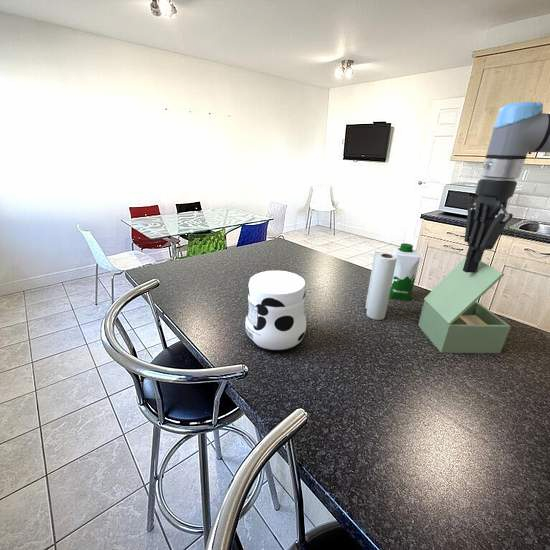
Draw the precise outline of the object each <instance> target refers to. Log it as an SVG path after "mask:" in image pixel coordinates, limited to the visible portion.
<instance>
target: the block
mask: <svg viewBox="0 0 550 550" xmlns="http://www.w3.org/2000/svg"><path fill="white" fill-rule="evenodd" d="M455 324H464V325H487V324H486V323H485V322H483V321H482V320H481V319H480V318H478V317H477V316H476V315H461V316H460V317H459V318H458V319H457V320H456V321H455Z"/></svg>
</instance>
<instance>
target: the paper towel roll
mask: <svg viewBox="0 0 550 550" xmlns="http://www.w3.org/2000/svg"><path fill="white" fill-rule="evenodd" d="M396 261H397V257H396V256H395V255H393V253H390V252H389V253H388V252H382V251H377V250H374V254H373V259H372V265H371V271H370V277H369V284H368V288H367V295H366V301H365V307H364V308H365V310H366V314H365V315H366V316H367V318H370V319H372V320H376V321H381V320H384V319H385V318H386V315H387V314H386V313H387V310H388V304H389V300H390V298H389V295H390V290H391V285H392V280H393V275H394V270H395V265H396Z"/></svg>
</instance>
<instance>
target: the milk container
mask: <svg viewBox="0 0 550 550" xmlns="http://www.w3.org/2000/svg"><path fill="white" fill-rule="evenodd" d="M247 286H248V287H247V293H248V294H247V302H248V303H247V304H248V307H247V313H246V316H245V323H244V324H245V325H244V326H245V333H246V335H247V337H248V339H249V341H250V342H251V343H252V344H253V345H254V346H256V347H259V348H261V349H264V350H267V351H275V352H276V351H285V350H286V351H287V350H289V349H292V348H294V347H296V346H297V345H299V344H300V343H301V342H302V341H303V339H304V337H305V334H306V330H307V317H306V313H305V303H306V291H307V290H306V280H305V279H304V278H303V277H302V276H300V275H299V274H297V273H295V272H290V271H286V270H265V271H261V272H258V273H256V274H254V275H252V276H251V277H250V278H249V281H248V285H247Z"/></svg>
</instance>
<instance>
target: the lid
mask: <svg viewBox="0 0 550 550" xmlns="http://www.w3.org/2000/svg"><path fill="white" fill-rule="evenodd" d="M465 261H466V256H465V257H464V258H463V259H462V260H461V261H460V262H459V263H458V264H457V265H456V266H455V267H454V268H453V269H452V270H451V271H450V272H449V273H448V274H447V275H446V276H445V277H444V278H443V279H442V280H441V281H440V282H439V283H438V284H437V285H436V286H435V287H434V288H433V289H432V290H431V291H430V292H429V293H428V294H427V295H426V296H425V297H424V298H423V300H424V301H426V302H427V303H428V304H429V305H430V306H431V307H432V308H433V309H434V310H435V311H436V312H437V313H438V314H439V315H440V316H441V317H442V318H443V319H444V320H445V321H446V322H447V323H448V324H450V325H451V324H452V323H453V322H454V321H455V320H457V319H458V318H459V317H460V316H461V315H462V314H463V313H464V312H465V311H466V310H467V309H468V308H469V307H471V306H472V305H473V304H474V303H475V302H478V300H480V298H481V297H482V296H484V295H485V294H486V293H487V292H488V291H489V290H490V289H492V287H493V286H495V284H496V283H498V282H499V281H500V280H501V279H502V278H503V277H504V276H505V274H504V273H503V272H502V271H500V270H498V269H496V268H494V267H493V266H491V265H489V264H486V263H485V262H483V261H482V260H481V261H480V262H479V265H478V268H477V271H476V273H470V272H464V271H463V267H464V264H465Z"/></svg>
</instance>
